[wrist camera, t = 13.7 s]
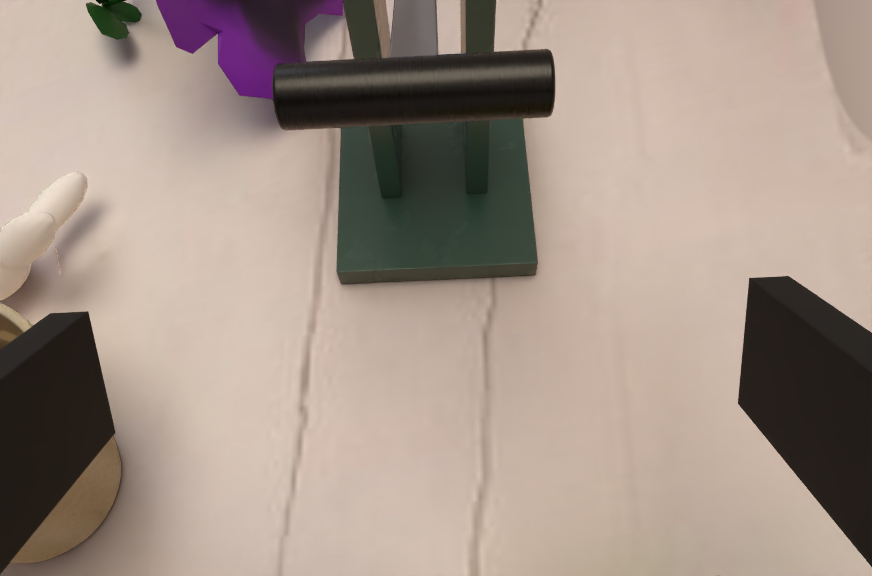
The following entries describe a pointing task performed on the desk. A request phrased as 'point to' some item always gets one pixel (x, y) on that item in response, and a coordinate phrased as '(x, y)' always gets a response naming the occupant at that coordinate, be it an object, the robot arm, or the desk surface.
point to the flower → (229, 32)
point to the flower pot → (83, 499)
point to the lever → (414, 82)
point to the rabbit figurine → (37, 230)
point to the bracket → (432, 181)
